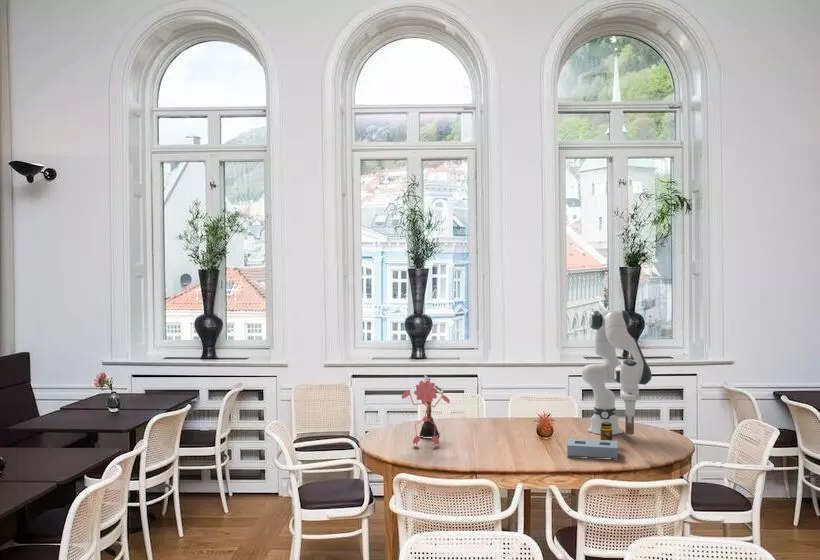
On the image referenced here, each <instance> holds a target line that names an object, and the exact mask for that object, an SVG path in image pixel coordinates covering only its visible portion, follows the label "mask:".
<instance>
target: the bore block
mask: <svg viewBox="0 0 820 560" xmlns="http://www.w3.org/2000/svg"><path fill="white" fill-rule="evenodd" d="M618 447H619V445H618V440H613V441H610V440H601V439H587V438H585V439H584V438H568V440H567V456H566V457H567V458H570V457H587V458H586V459H588V458H611V459H618V460H619V458H618V457H619V456H618V455H619V453H618V452H619V450H618V449H619V448H618Z"/></svg>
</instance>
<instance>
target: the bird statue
mask: <svg viewBox="0 0 820 560" xmlns="http://www.w3.org/2000/svg"><path fill="white" fill-rule="evenodd" d="M423 377H424V380H423V382H424V383H425V382H426V381H427V380H429V381H430V383H432V381H431V378H430V376H429V377H428V375H426V374H424V375H423ZM434 388H436V389H437V390H438V391H437V392H436V393H438V394H440V395H441V396H442V395H444V394H443V393H444V390H443V387H439V386H438V385H436V384H435V386H434ZM433 401H434V400H432V402H433ZM432 402H431V403H429V402H428V401H427V402H426V404H429V405H432ZM429 405H427V406H428V409H427V408H426V409H427V413H426V417H427V418H428V420H429V421H428V420H427V421H426V422H425V421H423V423H422V426H421V430H420V432H419V435H418V436H423V437H434V431H435V437H437V436H439V437H440V432H439V430H438V427H437V425H436V423H435V421H434V418H433V417H432V406H429ZM430 421H431V422H433V423H434V424H433V423H431V422H430ZM435 425H436V426H435Z"/></svg>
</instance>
